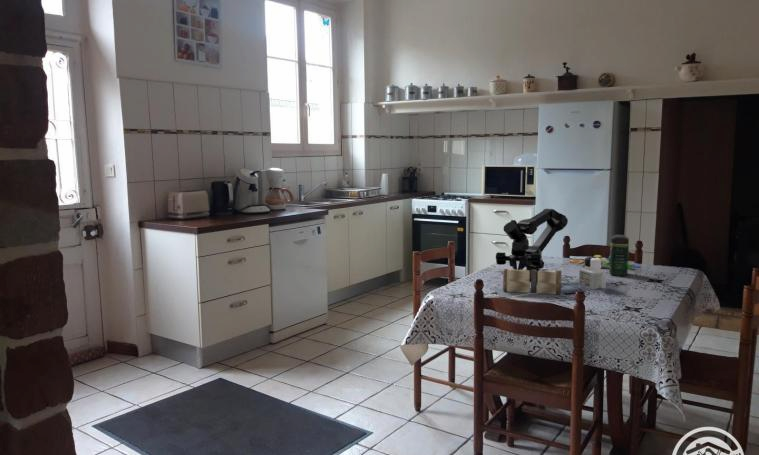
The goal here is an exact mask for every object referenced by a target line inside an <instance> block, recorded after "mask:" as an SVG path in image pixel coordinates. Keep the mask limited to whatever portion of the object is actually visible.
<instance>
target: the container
mask: <svg viewBox="0 0 759 455" xmlns="http://www.w3.org/2000/svg"><path fill="white" fill-rule="evenodd" d="M601 259H602V258H601ZM601 259H600V258H598V257H594V256H587V257H585V258H584V261H585V262H584V263H585V267H584V268H581V269H579V280H578V282H579V284H578V285H579V287H583V288H587V289H590V290H595V289H603V290H604V289H606V288H607V285H606V284H607V270H605V269H602V268H601Z"/></svg>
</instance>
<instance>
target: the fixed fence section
mask: <svg viewBox="0 0 759 455" xmlns="http://www.w3.org/2000/svg"><path fill="white" fill-rule="evenodd" d="M562 272H563V270H562V269H556V270H554V271H553V270H539V271H538V282H537V293H545V294H561V292H562Z"/></svg>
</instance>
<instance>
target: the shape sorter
mask: <svg viewBox="0 0 759 455" xmlns="http://www.w3.org/2000/svg"><path fill="white" fill-rule="evenodd" d="M593 257H598V258H600V259H601V269H604V270H605V269H608V270H610V255H609V256H608V259H605V258H603V259H602V255H600V254H595V255H594V256H593ZM568 263H571V264H582V265H581V266H582V267H584V268H585V260H579V259H572V260H569V261H568ZM640 267H641V266H640V265H639V264H638V263H629V262H628V271H630V270H633V268H640Z"/></svg>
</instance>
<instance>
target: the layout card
mask: <svg viewBox="0 0 759 455" xmlns="http://www.w3.org/2000/svg"><path fill="white" fill-rule="evenodd" d="M493 290H494V291H495V293H497V294H498V296H499V297H500V298H501V297H506V298H530V297H531V298H532V297H533V298H534V297H537V298H538V297H566V296H567V295H566V294H564V293H563V291H561V294H545V293H531V292H529V293H526V292H508V291H503V287H501V288H500V287H499V288H493Z"/></svg>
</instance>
